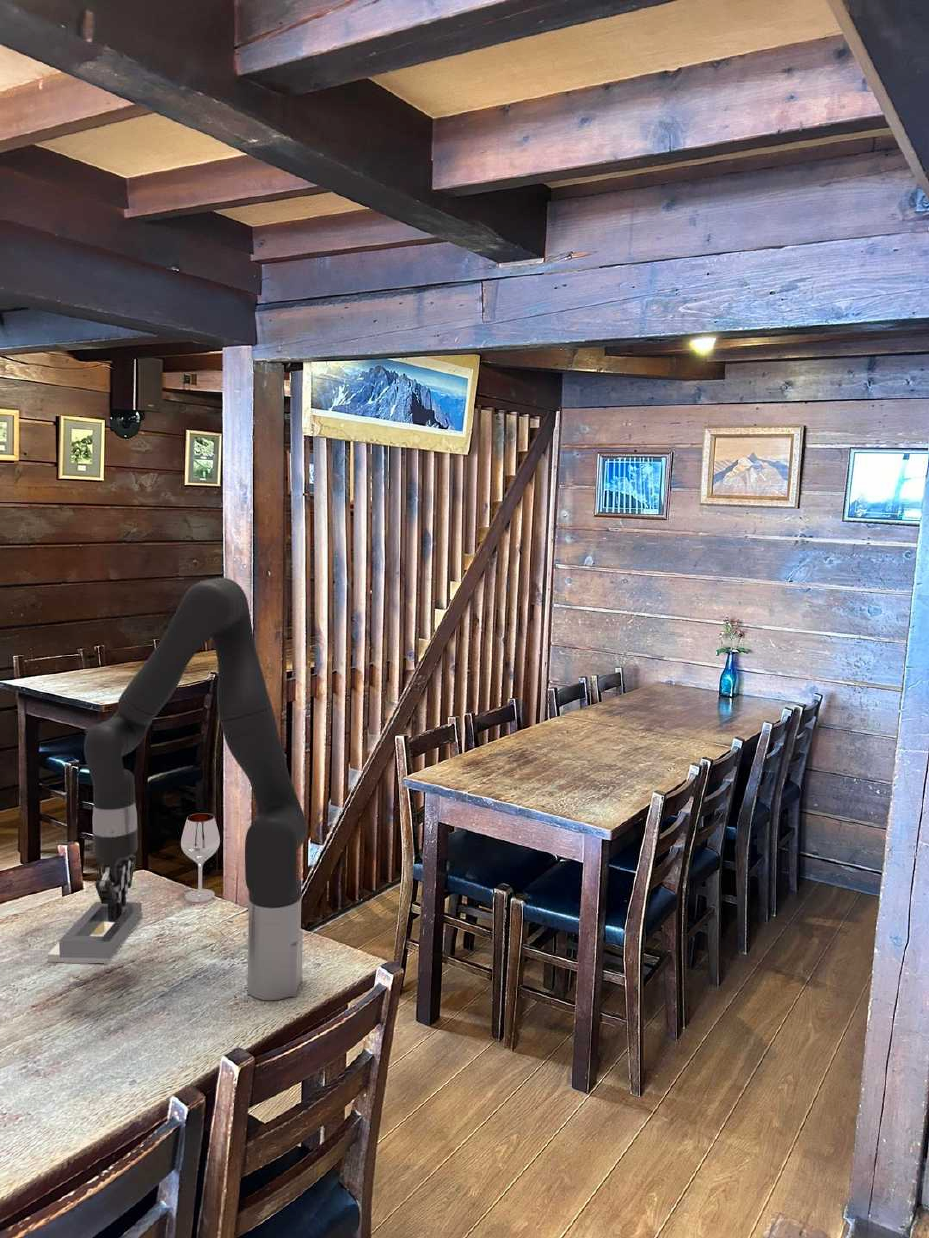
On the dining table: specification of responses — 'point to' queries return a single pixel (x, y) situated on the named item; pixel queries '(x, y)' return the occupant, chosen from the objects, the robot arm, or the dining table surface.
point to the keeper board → (55, 956)
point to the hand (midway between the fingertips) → (117, 917)
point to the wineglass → (200, 848)
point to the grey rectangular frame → (87, 946)
